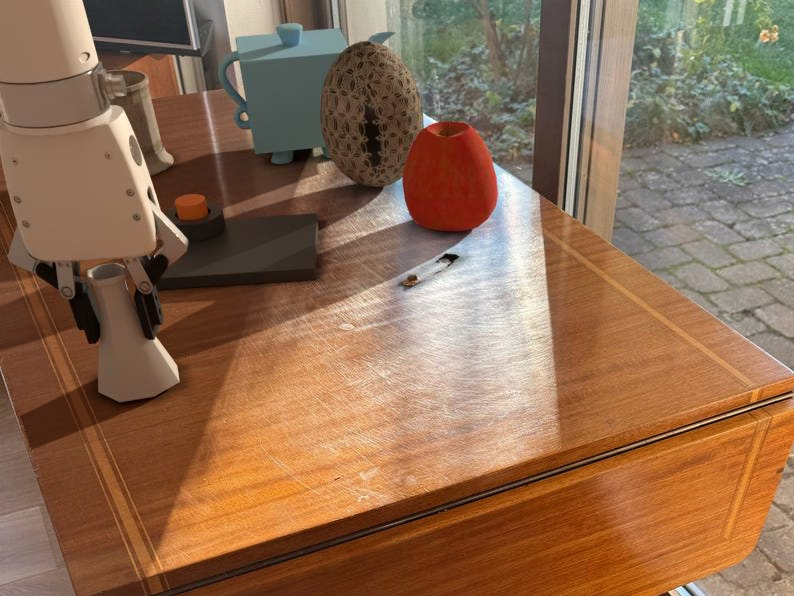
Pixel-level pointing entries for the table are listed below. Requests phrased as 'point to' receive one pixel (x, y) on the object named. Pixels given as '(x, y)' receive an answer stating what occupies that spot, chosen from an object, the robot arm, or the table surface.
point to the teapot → (285, 86)
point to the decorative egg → (370, 114)
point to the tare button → (191, 207)
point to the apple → (449, 178)
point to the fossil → (413, 277)
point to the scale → (243, 250)
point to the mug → (143, 119)
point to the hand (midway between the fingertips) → (124, 332)
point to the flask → (126, 342)
